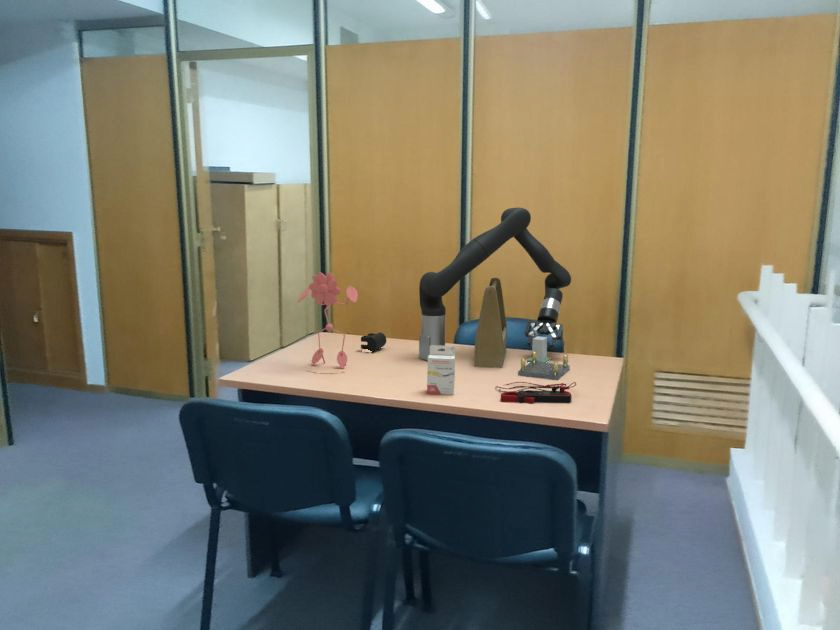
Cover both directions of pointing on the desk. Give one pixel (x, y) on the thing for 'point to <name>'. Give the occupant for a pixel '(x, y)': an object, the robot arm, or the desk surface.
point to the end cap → (373, 341)
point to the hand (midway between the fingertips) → (540, 346)
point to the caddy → (491, 328)
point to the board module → (540, 349)
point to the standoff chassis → (544, 368)
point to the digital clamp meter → (537, 394)
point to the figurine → (326, 293)
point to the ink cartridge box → (441, 370)
